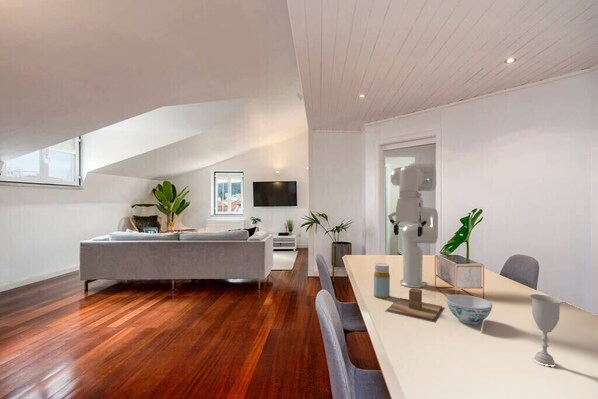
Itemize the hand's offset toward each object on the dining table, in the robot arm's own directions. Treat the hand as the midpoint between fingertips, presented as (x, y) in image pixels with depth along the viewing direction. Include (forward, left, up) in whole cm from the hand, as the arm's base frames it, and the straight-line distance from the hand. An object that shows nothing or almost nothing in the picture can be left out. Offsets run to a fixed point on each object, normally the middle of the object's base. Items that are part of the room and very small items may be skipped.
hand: (407, 235), depth 133 cm
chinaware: (+5, +24, -30) cm, 39 cm away
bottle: (-3, -12, -30) cm, 32 cm away
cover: (+5, +5, -29) cm, 30 cm away
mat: (+5, +5, -30) cm, 30 cm away
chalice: (+25, +45, -30) cm, 60 cm away
